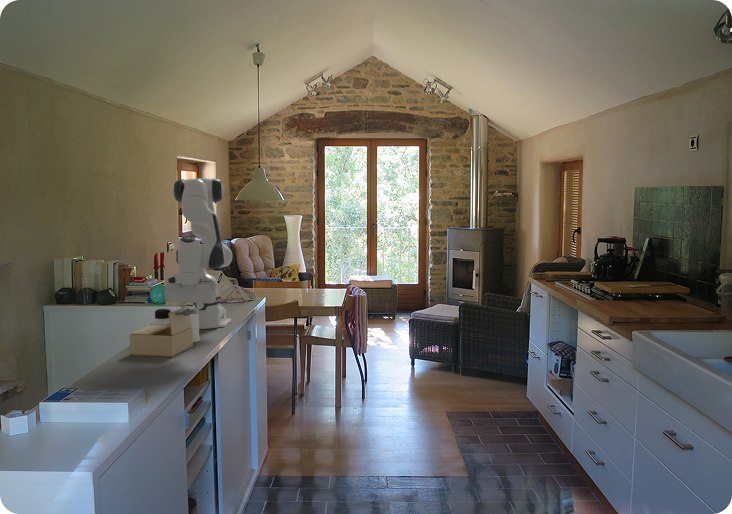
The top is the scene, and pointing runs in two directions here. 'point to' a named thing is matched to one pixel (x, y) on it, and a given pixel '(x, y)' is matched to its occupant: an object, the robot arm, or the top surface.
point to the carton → (160, 341)
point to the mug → (195, 326)
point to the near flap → (180, 320)
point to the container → (161, 317)
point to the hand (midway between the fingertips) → (190, 313)
